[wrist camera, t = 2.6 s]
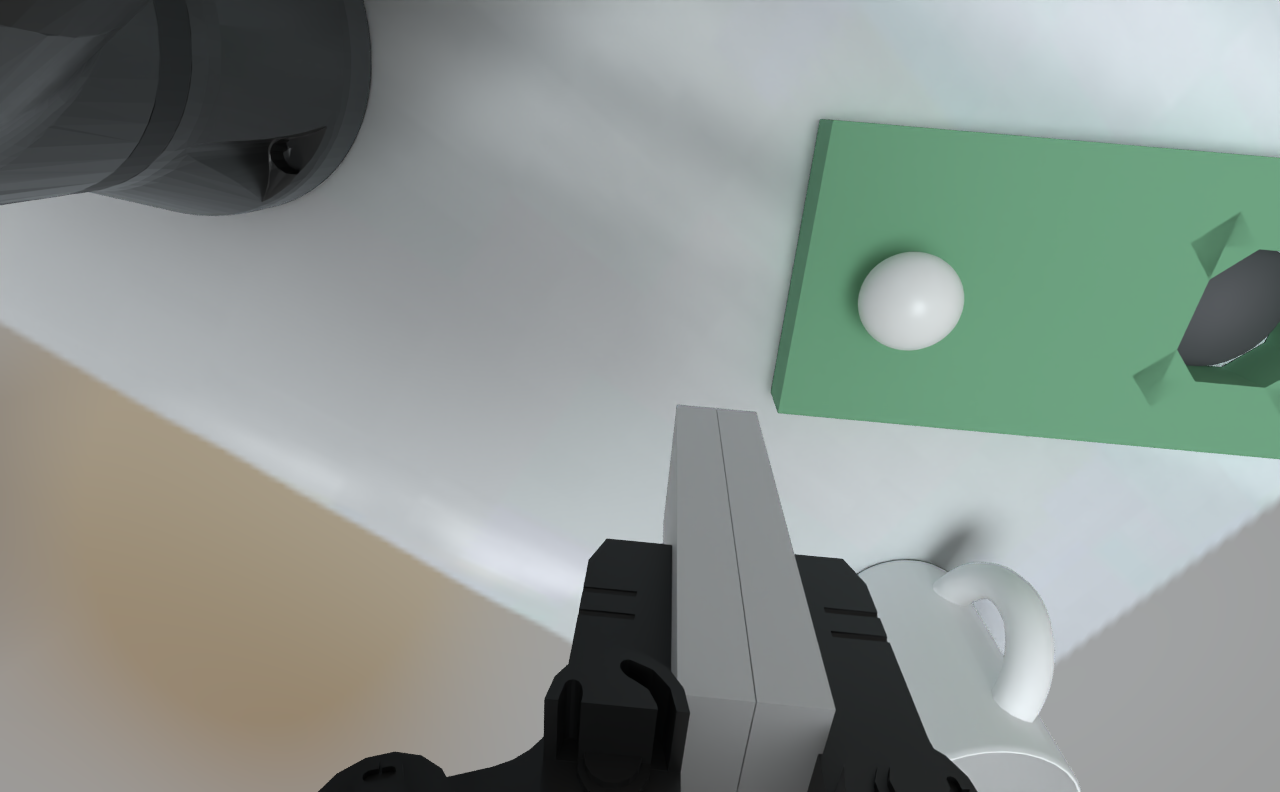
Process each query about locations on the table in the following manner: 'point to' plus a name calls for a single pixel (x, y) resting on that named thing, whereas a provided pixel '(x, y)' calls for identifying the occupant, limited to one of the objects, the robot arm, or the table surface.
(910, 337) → the ball
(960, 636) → the mug
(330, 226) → the table surface
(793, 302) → the green
